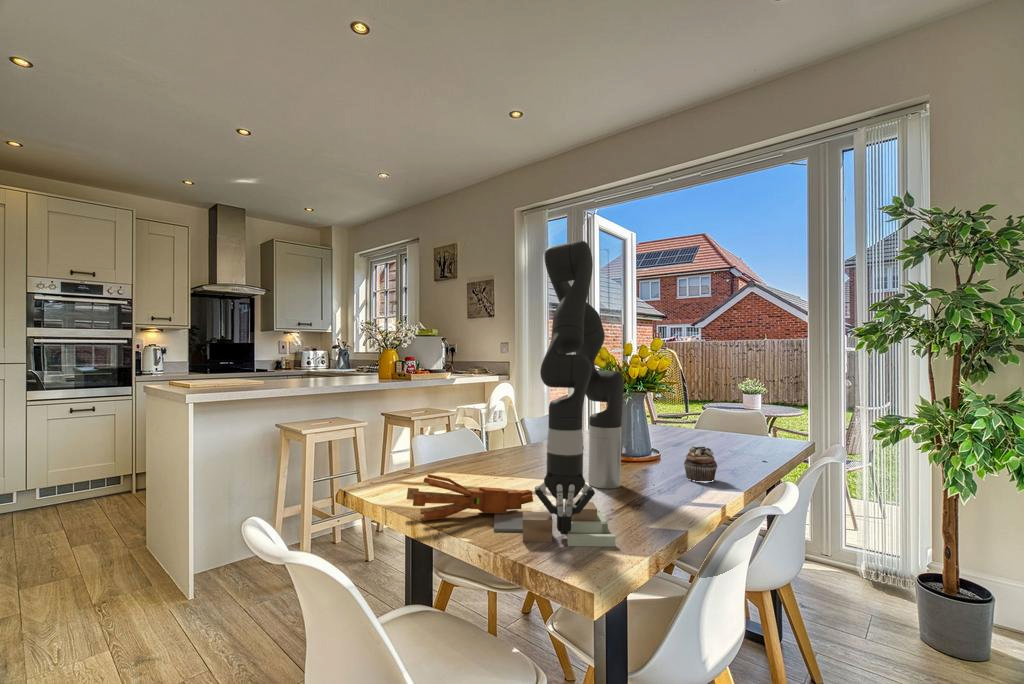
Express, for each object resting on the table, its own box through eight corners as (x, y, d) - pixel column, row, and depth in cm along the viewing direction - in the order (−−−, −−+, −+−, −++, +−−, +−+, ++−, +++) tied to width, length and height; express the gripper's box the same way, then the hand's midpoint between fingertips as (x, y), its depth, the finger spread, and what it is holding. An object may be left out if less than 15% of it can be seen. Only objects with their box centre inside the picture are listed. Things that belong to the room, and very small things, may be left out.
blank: (522, 532, 105) (522, 511, 105) (550, 533, 105) (551, 512, 105) (522, 541, 100) (523, 519, 100) (552, 542, 100) (552, 520, 100)
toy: (399, 502, 115) (512, 498, 129) (409, 533, 106) (531, 525, 119) (407, 465, 113) (521, 465, 126) (418, 493, 103) (541, 489, 117)
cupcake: (677, 476, 154) (677, 444, 154) (703, 475, 157) (704, 443, 157) (696, 485, 145) (696, 451, 145) (724, 483, 147) (724, 449, 148)
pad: (494, 517, 114) (494, 514, 114) (533, 517, 114) (533, 514, 114) (493, 531, 105) (493, 528, 105) (535, 532, 105) (535, 529, 105)
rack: (559, 518, 114) (559, 499, 114) (600, 519, 114) (600, 499, 114) (567, 545, 98) (568, 523, 98) (615, 546, 98) (615, 523, 98)
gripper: (593, 446, 106) (592, 527, 106) (532, 445, 106) (531, 526, 106) (600, 454, 99) (598, 540, 99) (534, 453, 99) (533, 539, 98)
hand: (563, 533), depth 102 cm, fingers closed
